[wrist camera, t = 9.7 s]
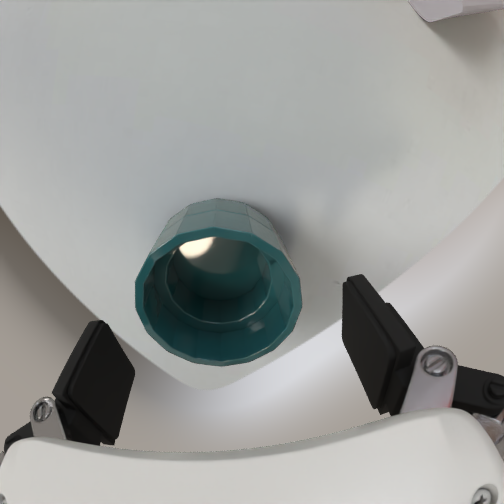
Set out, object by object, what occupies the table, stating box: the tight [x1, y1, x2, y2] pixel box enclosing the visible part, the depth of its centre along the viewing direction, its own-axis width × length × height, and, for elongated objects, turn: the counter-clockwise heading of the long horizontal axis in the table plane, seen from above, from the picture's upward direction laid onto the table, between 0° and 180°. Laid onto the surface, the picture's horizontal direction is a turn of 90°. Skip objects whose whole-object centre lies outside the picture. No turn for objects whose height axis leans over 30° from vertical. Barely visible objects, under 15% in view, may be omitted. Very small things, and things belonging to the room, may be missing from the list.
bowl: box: [135, 198, 302, 366], centre depth 14 cm, size 7×7×5 cm
